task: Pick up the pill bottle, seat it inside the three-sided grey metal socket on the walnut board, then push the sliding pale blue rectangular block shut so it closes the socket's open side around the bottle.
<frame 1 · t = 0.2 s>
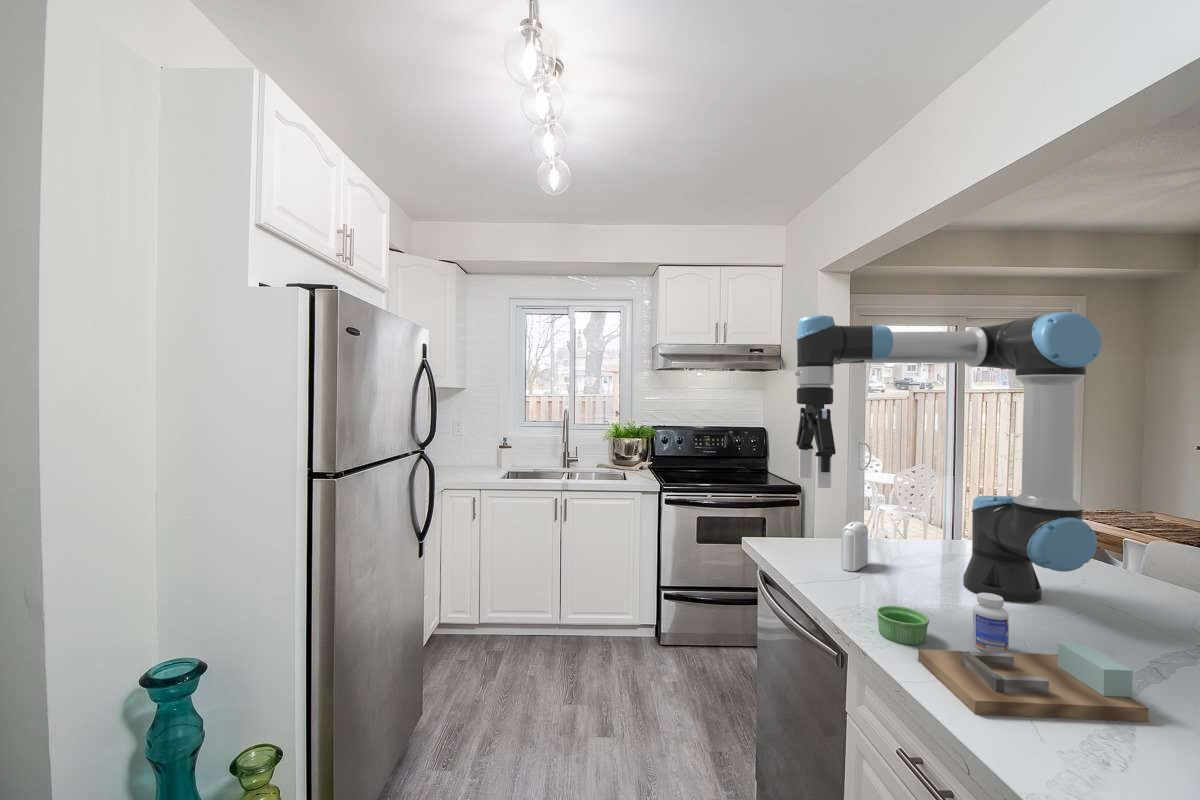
hand: (813, 482, 119), 28 cm above the counter, fingers open, 13 cm apart
pill bottle: (990, 649, 100), on the counter
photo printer: (854, 567, 147), on the counter
pale blue rectangular block: (1093, 668, 85), point 4 cm above the counter, slide at 0.0 cm
ramekin: (901, 637, 105), on the counter
cradle: (1021, 688, 86), on the counter
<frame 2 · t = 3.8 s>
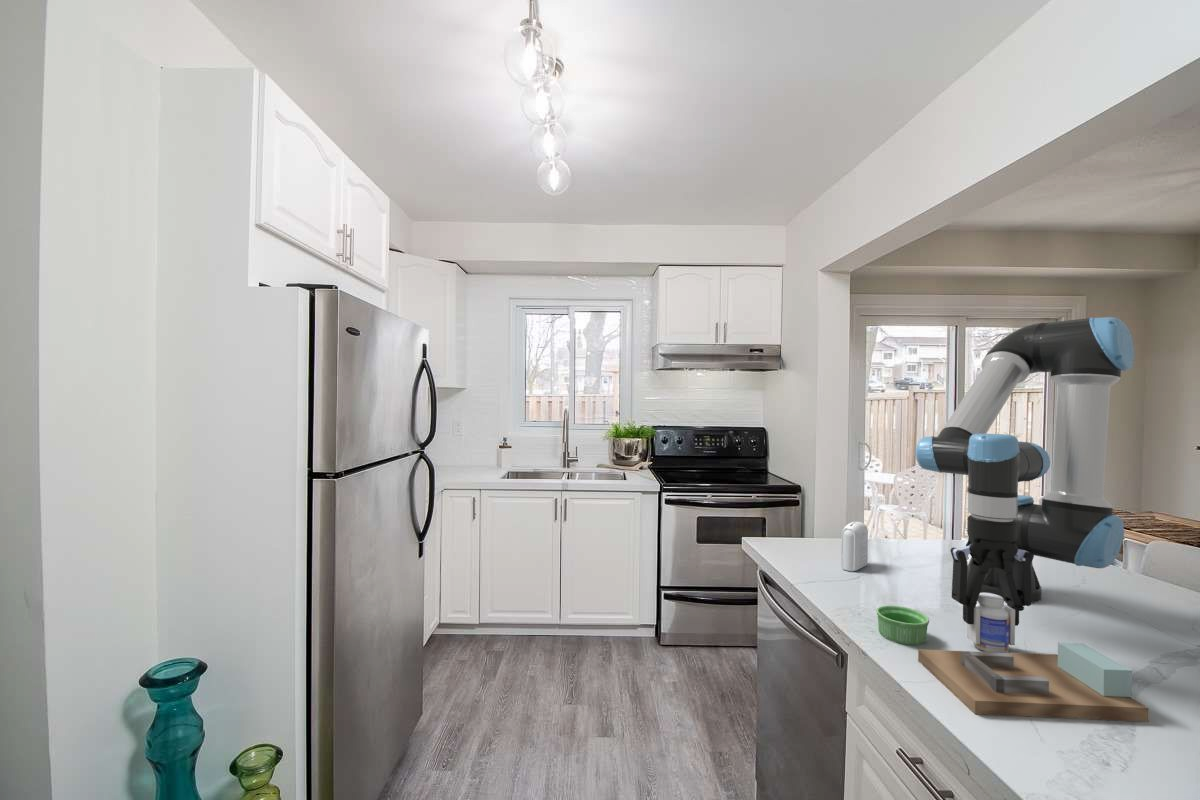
hand: (990, 641, 100), 1 cm above the counter, fingers closed on pill bottle, 5 cm apart
pill bottle: (990, 649, 100), on the counter, touching gripper
everything else where it was.
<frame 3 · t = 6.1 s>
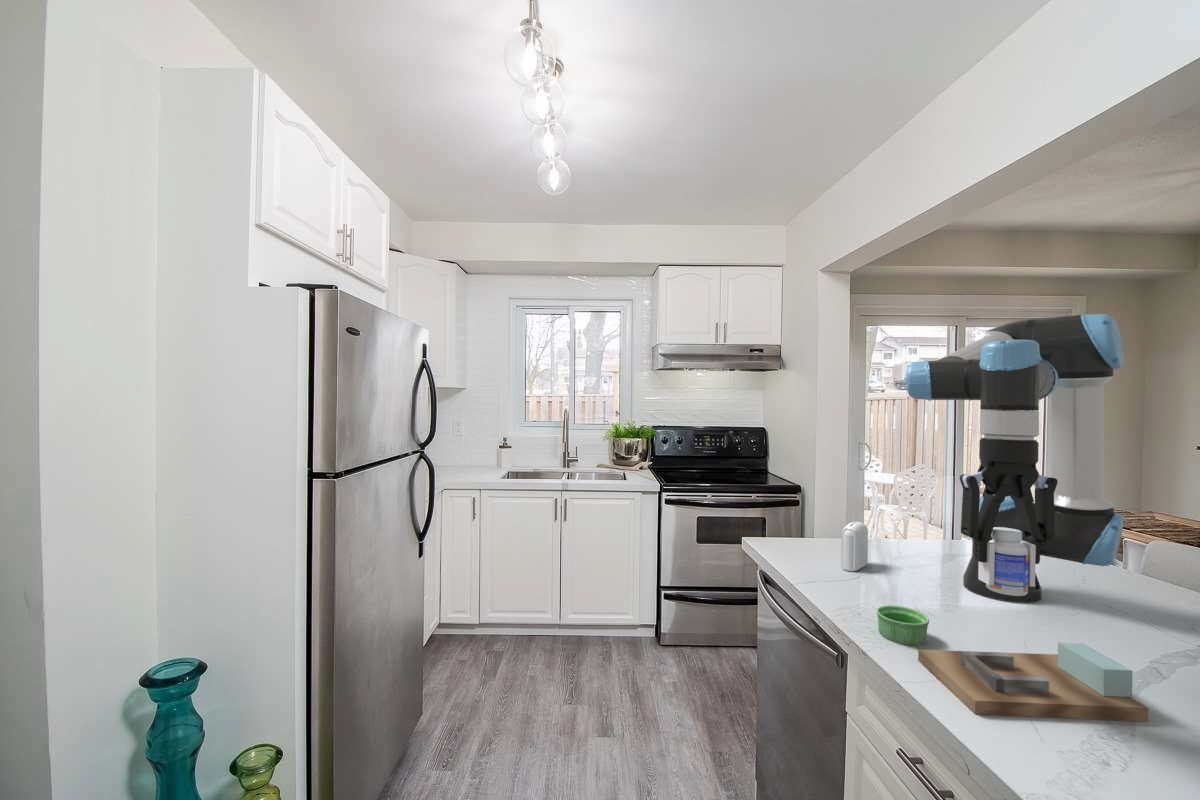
hand: (1006, 582, 86), 17 cm above the counter, fingers closed on pill bottle, 5 cm apart
pill bottle: (1006, 591, 86), point 16 cm above the counter, touching gripper
everything else where it was.
when the fingers open (4 cm above the counter, at t = 8.7 s): pill bottle drops 1 cm, resting on cradle.
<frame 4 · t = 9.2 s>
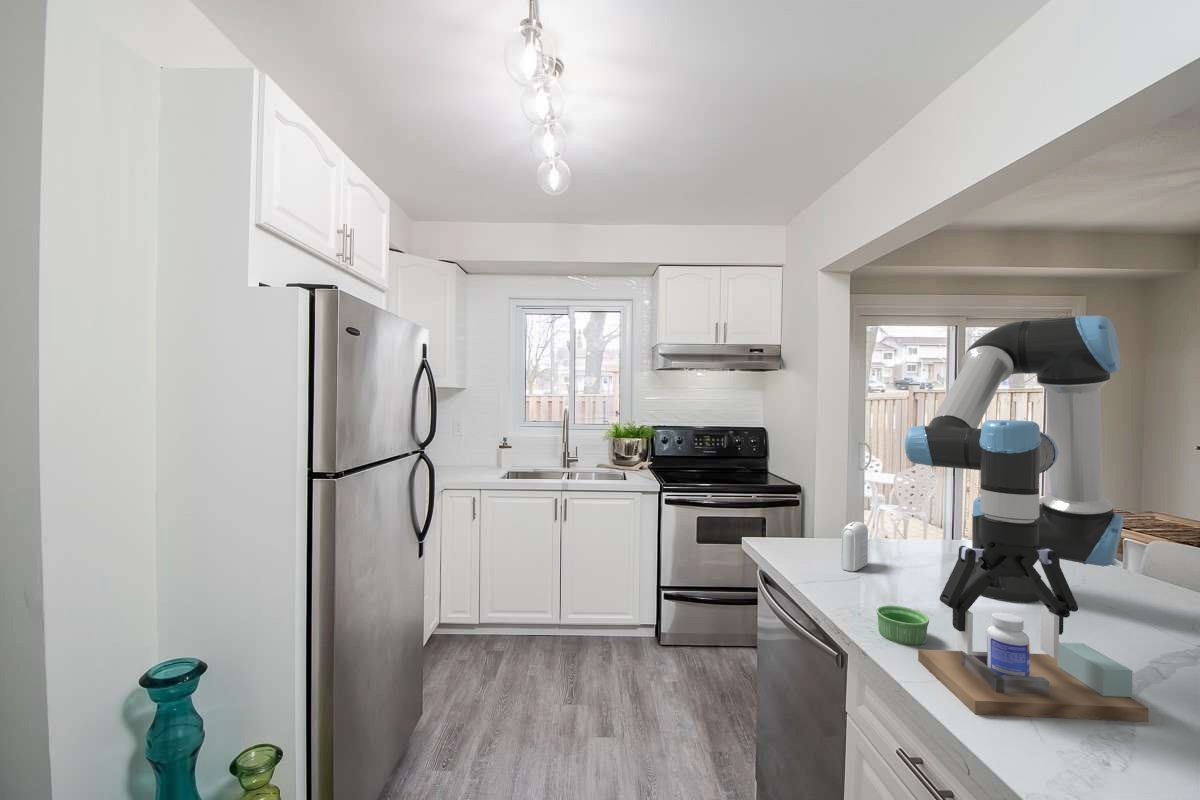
hand: (1006, 652, 86), 6 cm above the counter, fingers open, 12 cm apart
pill bottle: (1007, 679, 86), point 2 cm above the counter, touching cradle
everything else where it was.
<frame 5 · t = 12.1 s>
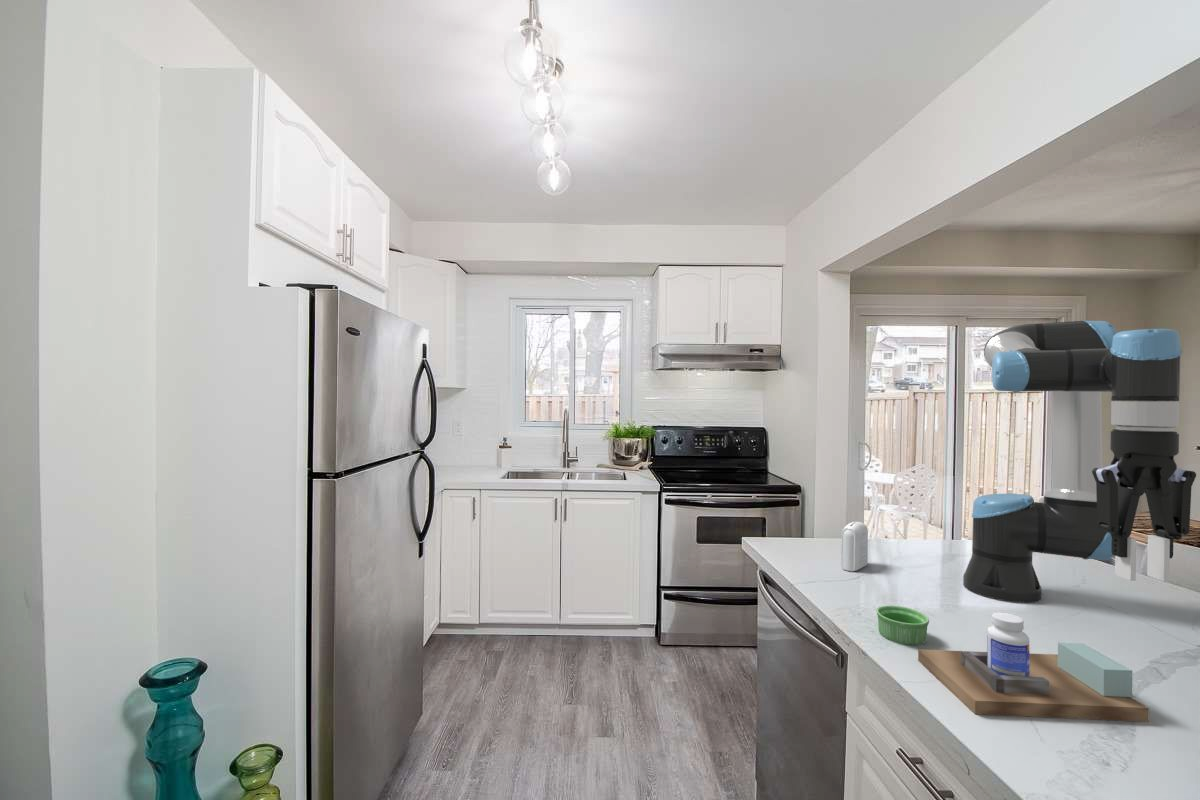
hand: (1141, 577, 84), 19 cm above the counter, fingers open, 4 cm apart
nothing on the counter moved.
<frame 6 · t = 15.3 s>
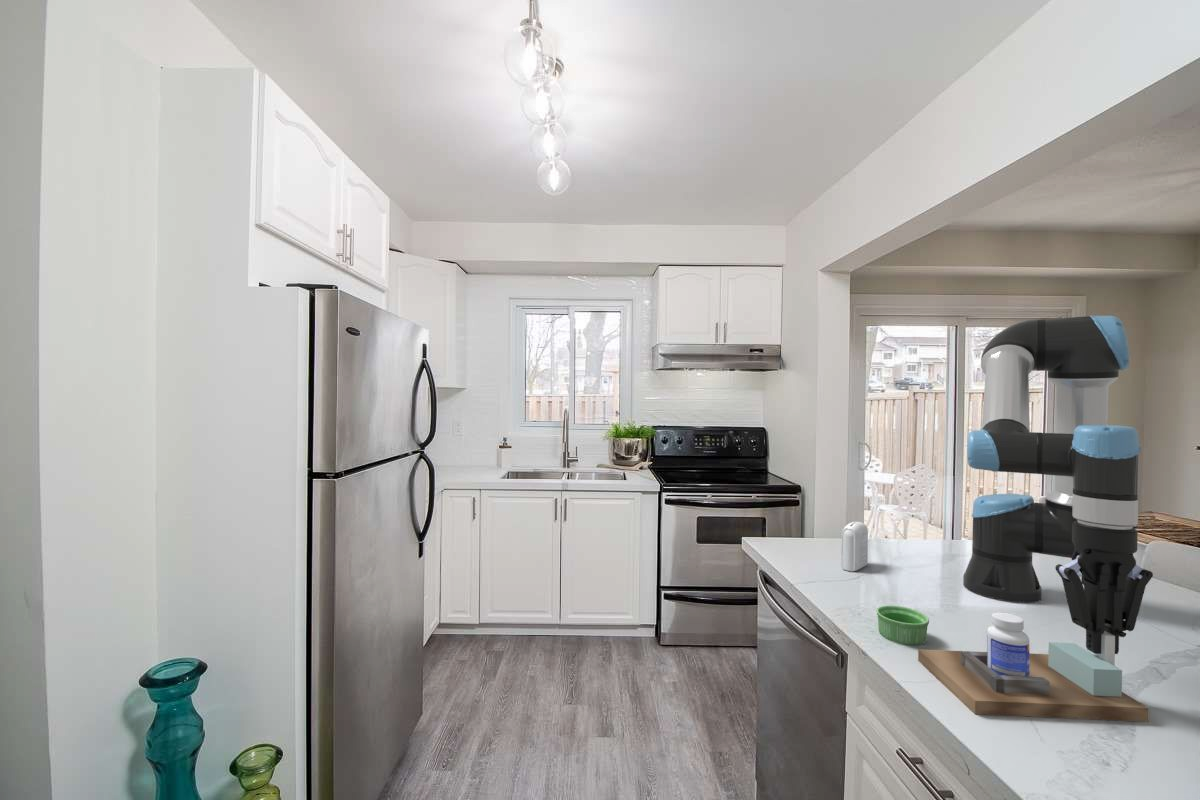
hand: (1101, 672, 85), 3 cm above the counter, fingers closed
pale blue rectangular block: (1083, 668, 85), point 4 cm above the counter, slide at 1.5 cm, touching gripper
everything else where it was.
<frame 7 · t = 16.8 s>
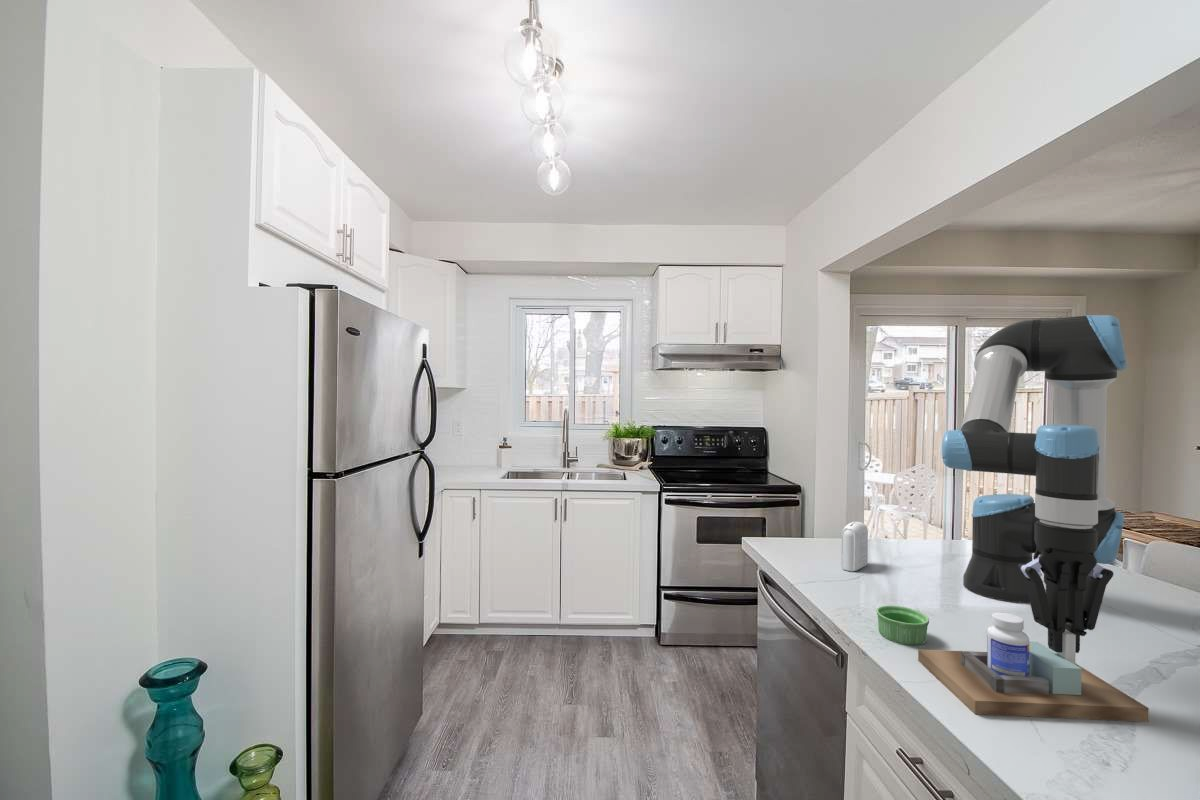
hand: (1063, 671, 85), 3 cm above the counter, fingers closed
pale blue rectangular block: (1045, 666, 85), point 4 cm above the counter, slide at 7.2 cm, touching gripper
everything else where it was.
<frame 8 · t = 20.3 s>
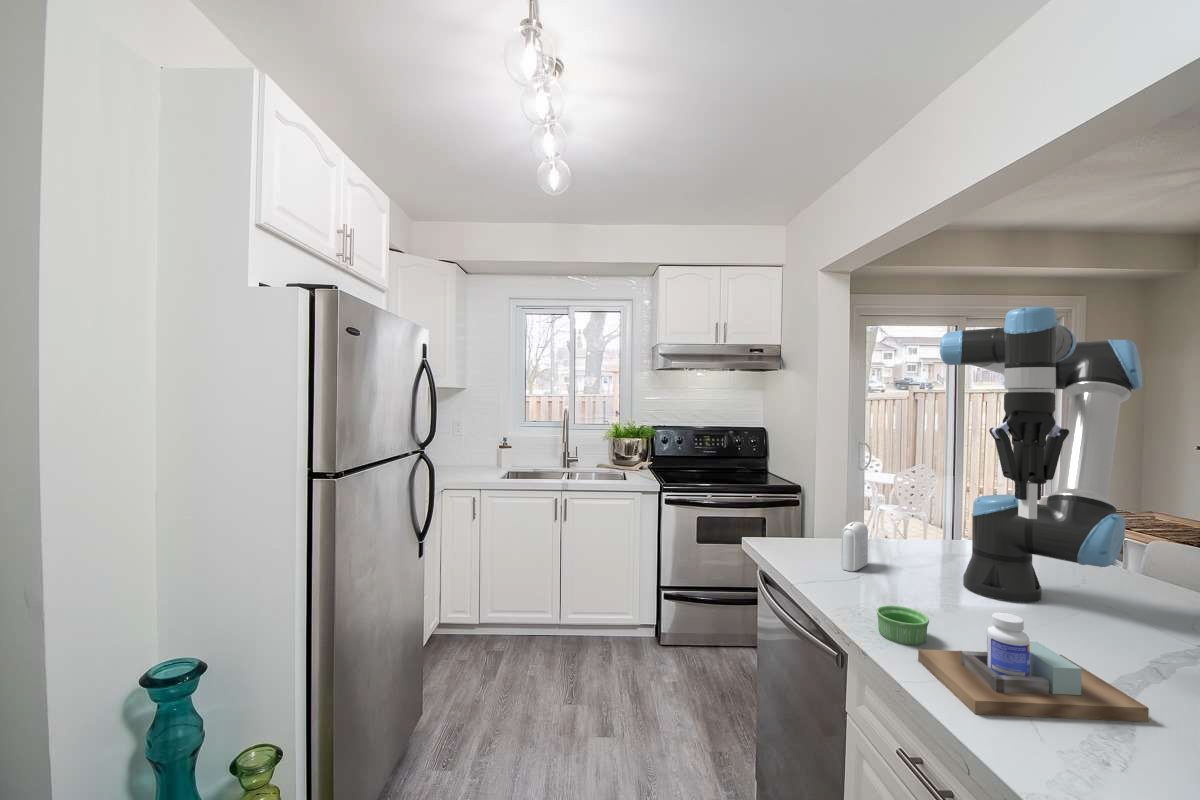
hand: (1027, 517, 100), 24 cm above the counter, fingers closed
pale blue rectangular block: (1044, 666, 85), point 4 cm above the counter, slide at 7.2 cm
everything else where it was.
at the end: pill bottle 0.2 cm from the target spot on the cradle, point 1.8 cm above the cradle's base; pill bottle tilted 0°; pale blue rectangular block slide at 7.2 cm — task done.
